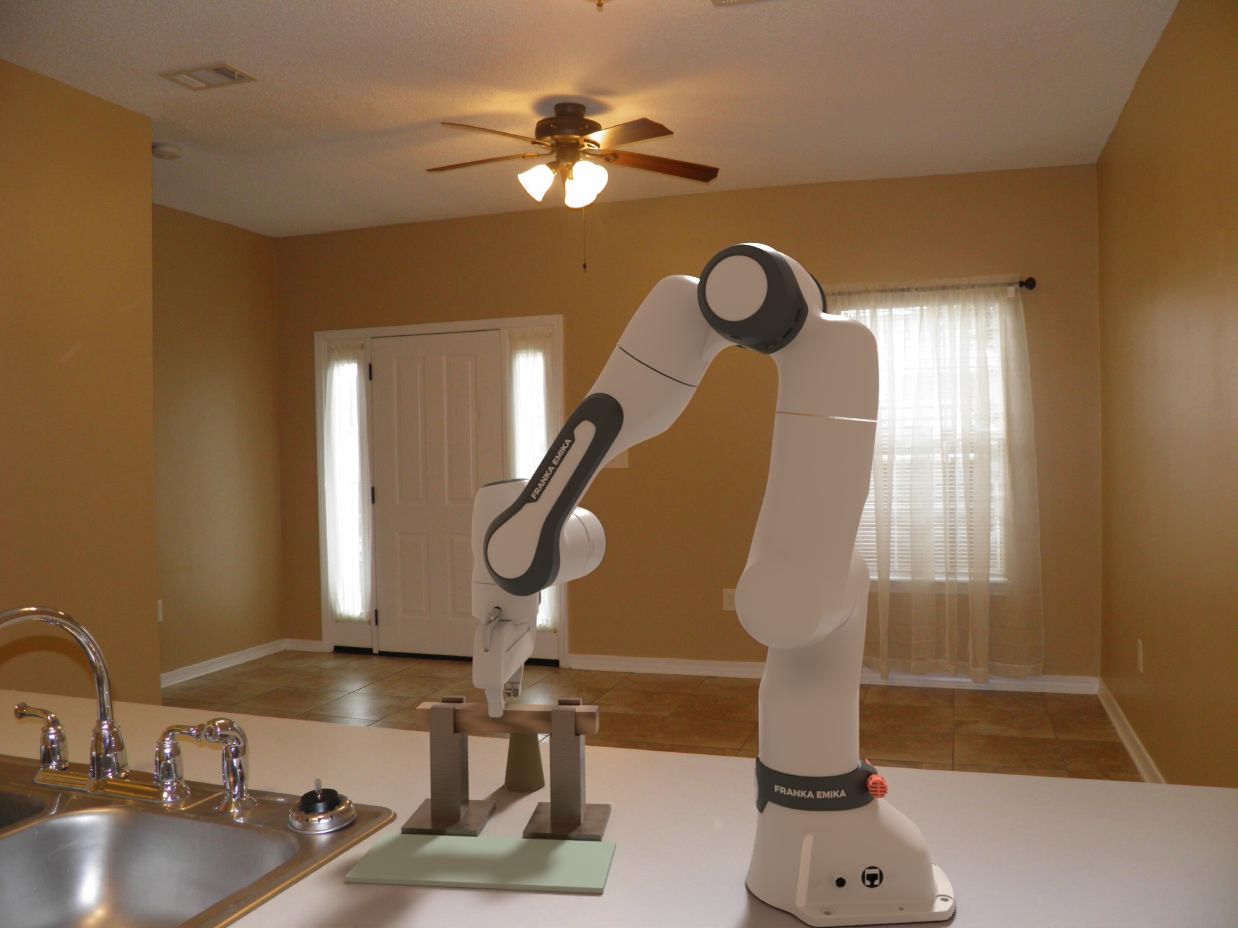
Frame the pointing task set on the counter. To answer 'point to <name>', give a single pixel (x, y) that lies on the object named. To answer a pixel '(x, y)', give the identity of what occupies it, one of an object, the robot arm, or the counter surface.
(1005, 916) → the counter surface
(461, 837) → the green mat
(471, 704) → the walnut rail
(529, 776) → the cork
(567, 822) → the cradle posts
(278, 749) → the counter surface
